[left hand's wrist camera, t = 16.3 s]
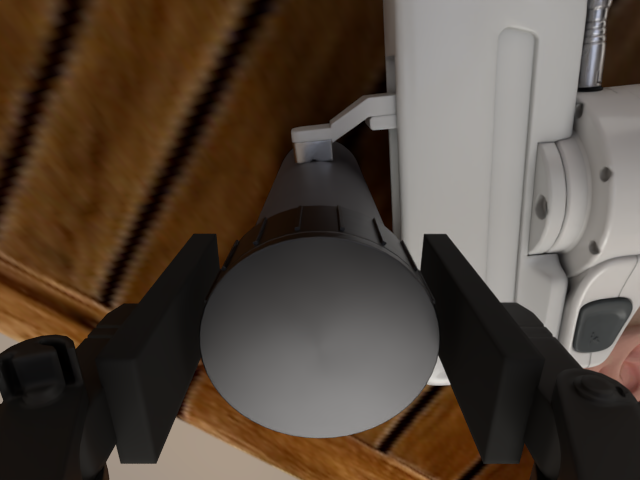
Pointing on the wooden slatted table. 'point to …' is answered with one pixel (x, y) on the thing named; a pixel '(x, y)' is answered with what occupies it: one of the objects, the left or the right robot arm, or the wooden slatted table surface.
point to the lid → (319, 324)
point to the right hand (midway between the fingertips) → (302, 213)
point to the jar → (320, 185)
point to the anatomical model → (625, 358)
